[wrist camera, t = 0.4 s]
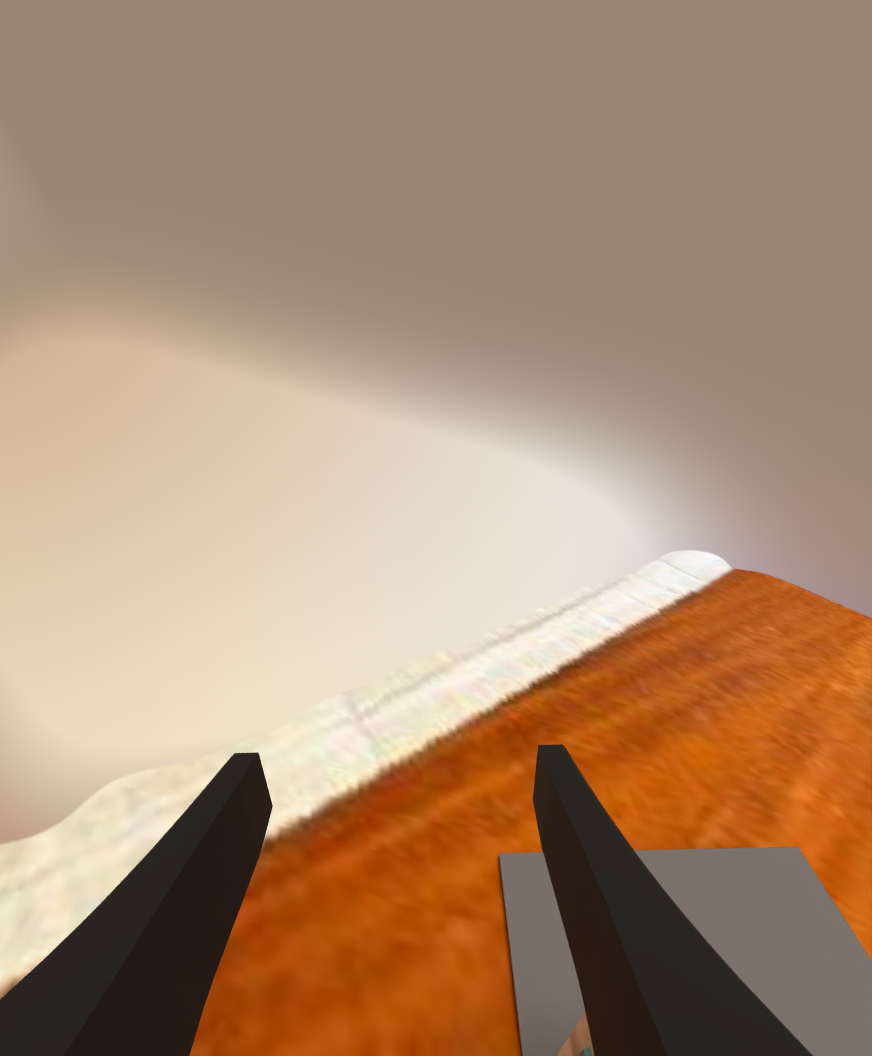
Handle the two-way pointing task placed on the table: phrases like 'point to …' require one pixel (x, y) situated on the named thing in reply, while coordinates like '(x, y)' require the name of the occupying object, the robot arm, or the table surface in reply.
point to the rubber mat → (727, 925)
